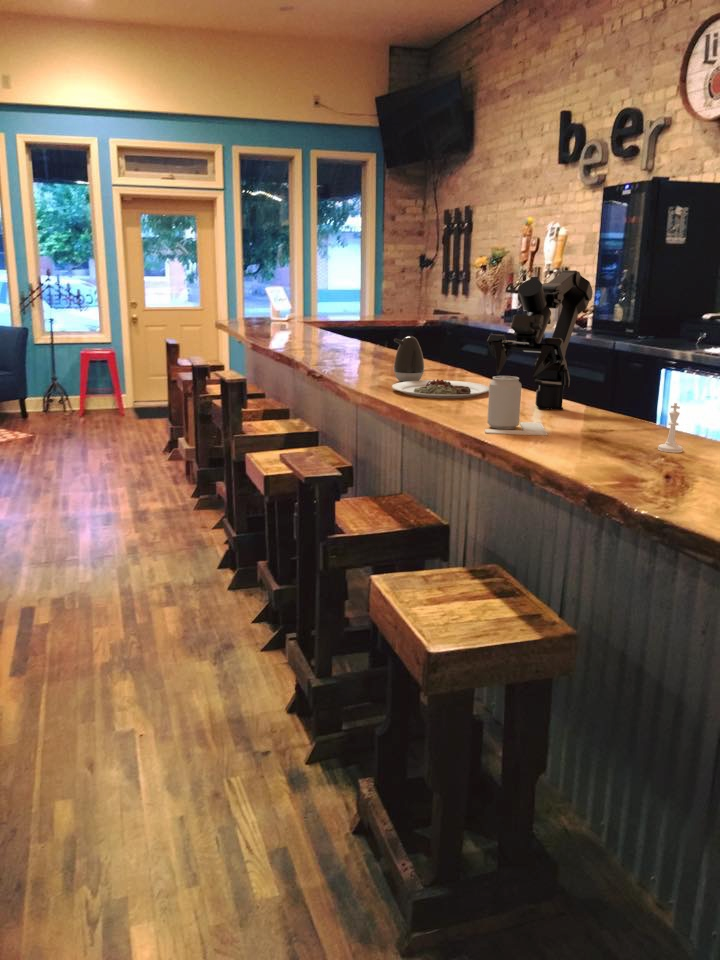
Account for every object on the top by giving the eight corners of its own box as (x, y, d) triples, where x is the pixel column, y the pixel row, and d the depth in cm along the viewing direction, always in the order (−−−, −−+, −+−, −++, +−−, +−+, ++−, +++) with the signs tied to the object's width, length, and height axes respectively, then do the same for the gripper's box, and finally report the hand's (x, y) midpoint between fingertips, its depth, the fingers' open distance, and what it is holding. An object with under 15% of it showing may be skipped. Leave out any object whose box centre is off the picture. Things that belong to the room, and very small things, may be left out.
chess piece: (662, 446, 167) (667, 400, 164) (685, 450, 164) (691, 403, 161) (654, 450, 163) (659, 403, 160) (678, 453, 160) (684, 405, 157)
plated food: (418, 403, 220) (418, 391, 219) (376, 388, 247) (376, 377, 246) (508, 397, 231) (509, 386, 230) (459, 384, 257) (459, 374, 257)
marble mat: (540, 424, 190) (540, 422, 190) (547, 435, 176) (547, 434, 176) (482, 422, 191) (482, 420, 191) (485, 433, 178) (485, 432, 178)
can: (509, 431, 180) (513, 379, 177) (481, 427, 184) (484, 376, 181) (524, 426, 186) (527, 376, 183) (496, 422, 190) (499, 373, 187)
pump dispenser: (389, 379, 264) (390, 334, 260) (419, 379, 266) (420, 334, 262) (396, 384, 254) (397, 337, 250) (427, 383, 256) (428, 337, 252)
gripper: (492, 301, 192) (471, 349, 185) (566, 303, 182) (546, 354, 176) (502, 331, 200) (482, 379, 194) (573, 335, 190) (555, 385, 184)
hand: (515, 374), depth 187 cm, fingers open, 9 cm apart
